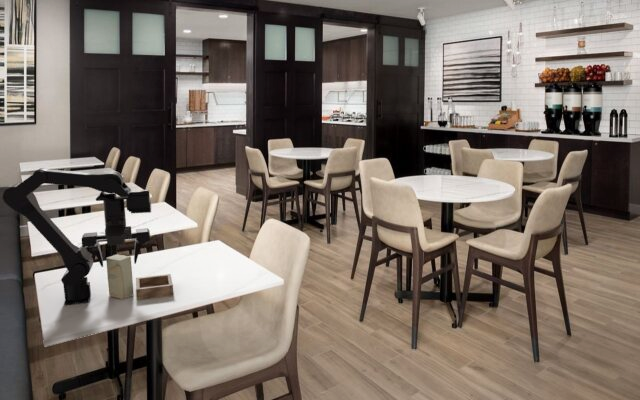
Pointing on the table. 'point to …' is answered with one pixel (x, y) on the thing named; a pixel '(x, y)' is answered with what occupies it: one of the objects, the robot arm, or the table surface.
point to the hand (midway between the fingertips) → (118, 264)
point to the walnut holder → (154, 286)
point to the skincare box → (119, 276)
